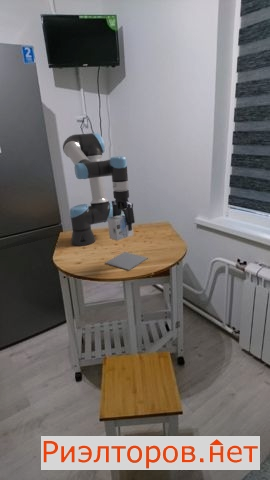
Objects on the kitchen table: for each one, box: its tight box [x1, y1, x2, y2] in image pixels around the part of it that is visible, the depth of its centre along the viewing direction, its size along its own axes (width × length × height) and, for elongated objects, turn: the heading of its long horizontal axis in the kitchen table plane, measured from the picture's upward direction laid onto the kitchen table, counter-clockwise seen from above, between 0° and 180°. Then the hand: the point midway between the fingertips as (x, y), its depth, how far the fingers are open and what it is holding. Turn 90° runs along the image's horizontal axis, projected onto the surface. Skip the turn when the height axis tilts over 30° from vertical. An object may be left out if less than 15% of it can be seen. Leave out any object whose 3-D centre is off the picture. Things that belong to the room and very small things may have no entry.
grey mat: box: [104, 251, 149, 271], centre depth 149 cm, size 16×16×1 cm
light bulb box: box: [107, 213, 134, 241], centre depth 141 cm, size 11×7×11 cm
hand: (124, 234), depth 144 cm, fingers closed on light bulb box, 7 cm apart
